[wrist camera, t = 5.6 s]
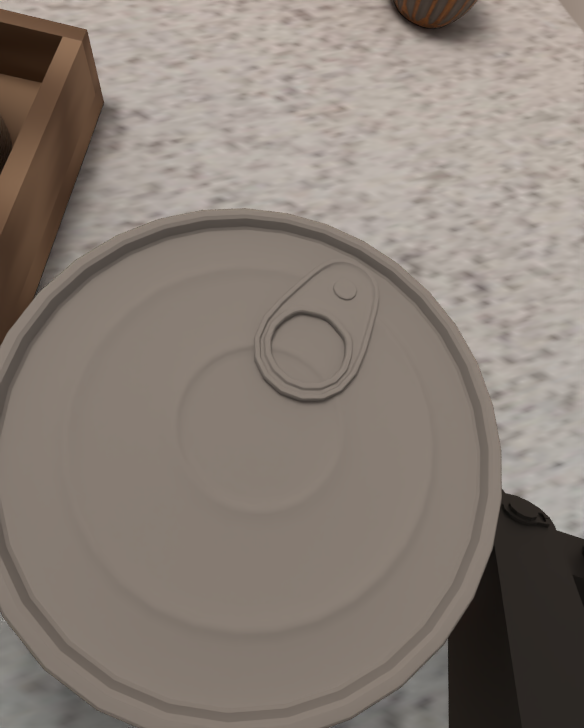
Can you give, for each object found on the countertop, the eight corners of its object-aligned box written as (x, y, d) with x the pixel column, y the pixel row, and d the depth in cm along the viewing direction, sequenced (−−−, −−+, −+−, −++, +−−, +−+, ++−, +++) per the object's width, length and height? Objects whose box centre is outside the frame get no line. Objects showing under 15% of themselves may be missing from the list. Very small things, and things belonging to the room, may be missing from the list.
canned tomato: (261, 655, 15) (379, 913, 5) (69, 530, 15) (-206, 520, 5) (361, 456, 18) (558, 354, 8) (201, 356, 18) (194, 137, 8)
